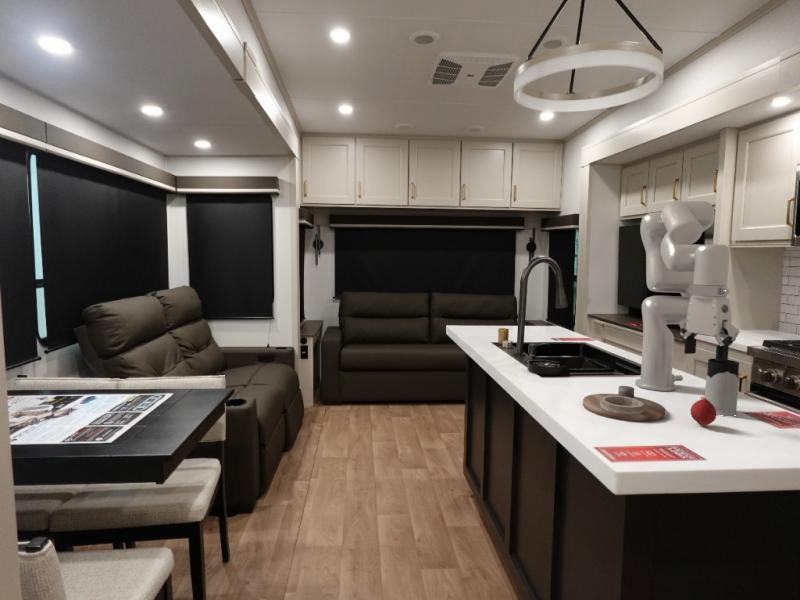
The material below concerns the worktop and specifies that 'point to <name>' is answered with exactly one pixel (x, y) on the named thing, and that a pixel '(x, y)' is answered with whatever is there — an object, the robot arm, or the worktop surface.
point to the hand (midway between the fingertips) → (705, 357)
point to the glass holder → (722, 386)
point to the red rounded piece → (703, 412)
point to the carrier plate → (646, 415)
